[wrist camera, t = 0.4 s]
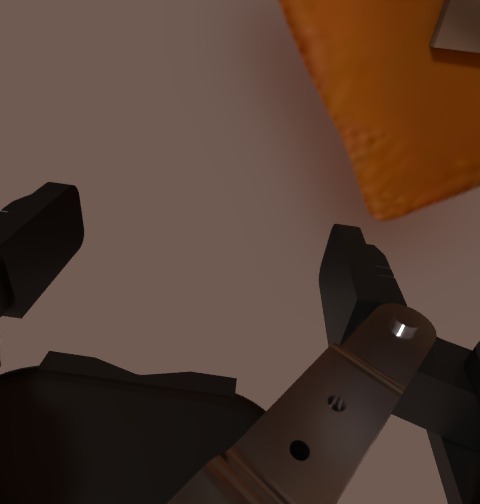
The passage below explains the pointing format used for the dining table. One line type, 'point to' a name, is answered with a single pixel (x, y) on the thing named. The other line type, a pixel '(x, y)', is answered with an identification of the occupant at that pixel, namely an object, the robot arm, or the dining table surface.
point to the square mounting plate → (458, 26)
